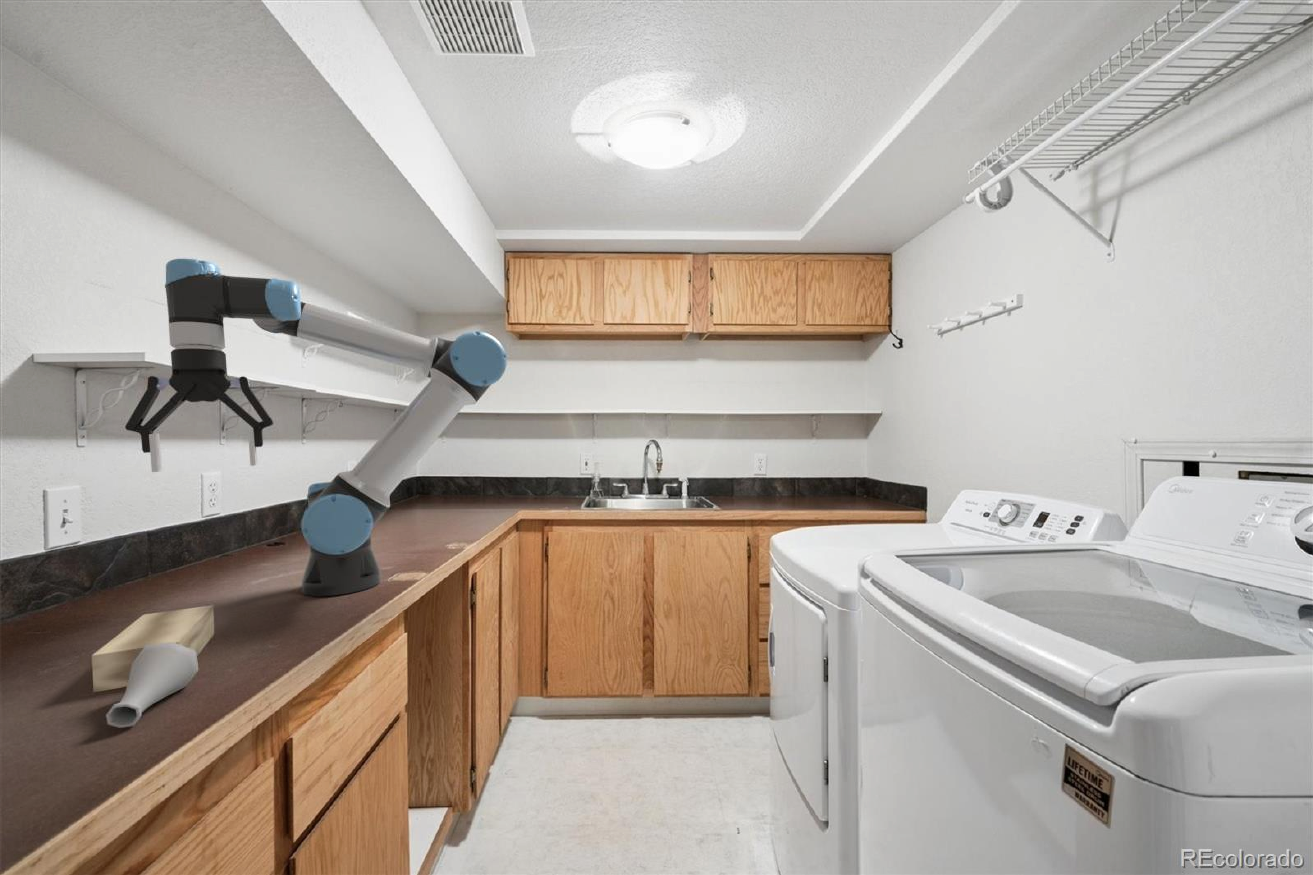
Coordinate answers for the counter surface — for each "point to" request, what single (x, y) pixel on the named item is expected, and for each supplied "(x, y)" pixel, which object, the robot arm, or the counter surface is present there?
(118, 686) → the block
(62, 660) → the counter surface
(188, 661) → the flask
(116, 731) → the counter surface
